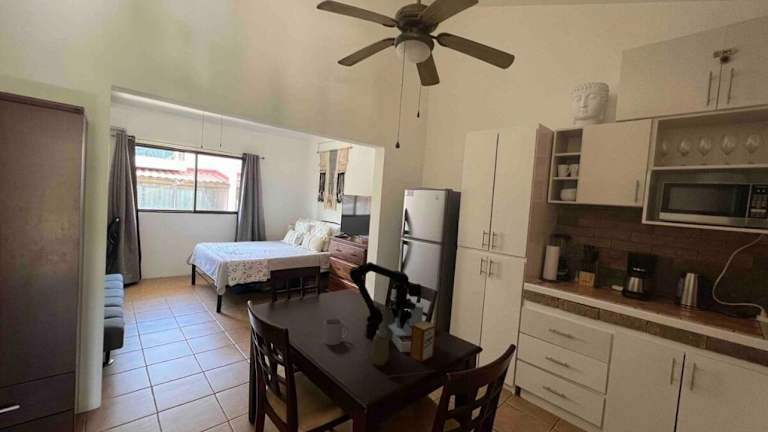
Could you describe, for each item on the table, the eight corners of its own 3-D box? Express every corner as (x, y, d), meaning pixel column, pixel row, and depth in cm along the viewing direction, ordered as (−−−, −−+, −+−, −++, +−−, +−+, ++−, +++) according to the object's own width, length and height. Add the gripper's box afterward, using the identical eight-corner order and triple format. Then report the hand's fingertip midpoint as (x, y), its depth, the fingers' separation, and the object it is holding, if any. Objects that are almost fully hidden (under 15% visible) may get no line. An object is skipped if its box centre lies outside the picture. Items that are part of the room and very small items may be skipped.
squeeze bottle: (369, 358, 141) (372, 319, 140) (387, 358, 141) (390, 320, 141) (370, 368, 133) (373, 327, 132) (389, 368, 133) (392, 327, 132)
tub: (400, 353, 147) (401, 343, 147) (392, 341, 159) (393, 332, 159) (419, 351, 151) (420, 341, 150) (410, 340, 162) (410, 331, 162)
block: (405, 346, 154) (406, 340, 154) (400, 342, 157) (401, 337, 157) (411, 344, 157) (412, 338, 156) (406, 340, 160) (406, 335, 160)
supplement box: (421, 329, 178) (422, 307, 177) (408, 327, 179) (410, 305, 179) (422, 324, 185) (423, 303, 184) (409, 322, 186) (411, 301, 186)
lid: (396, 336, 153) (397, 327, 153) (387, 325, 167) (387, 316, 166) (415, 335, 156) (416, 326, 156) (404, 323, 170) (405, 315, 170)
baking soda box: (422, 351, 151) (424, 319, 150) (433, 357, 146) (435, 324, 145) (409, 357, 144) (412, 324, 143) (420, 363, 139) (423, 329, 139)
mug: (319, 342, 152) (321, 322, 152) (330, 335, 161) (331, 316, 161) (339, 348, 148) (340, 327, 148) (348, 340, 157) (349, 321, 157)
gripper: (422, 301, 158) (419, 331, 159) (408, 290, 175) (405, 317, 176) (402, 302, 154) (399, 332, 155) (389, 291, 172) (387, 318, 173)
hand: (398, 324), depth 165 cm, fingers open, 9 cm apart
